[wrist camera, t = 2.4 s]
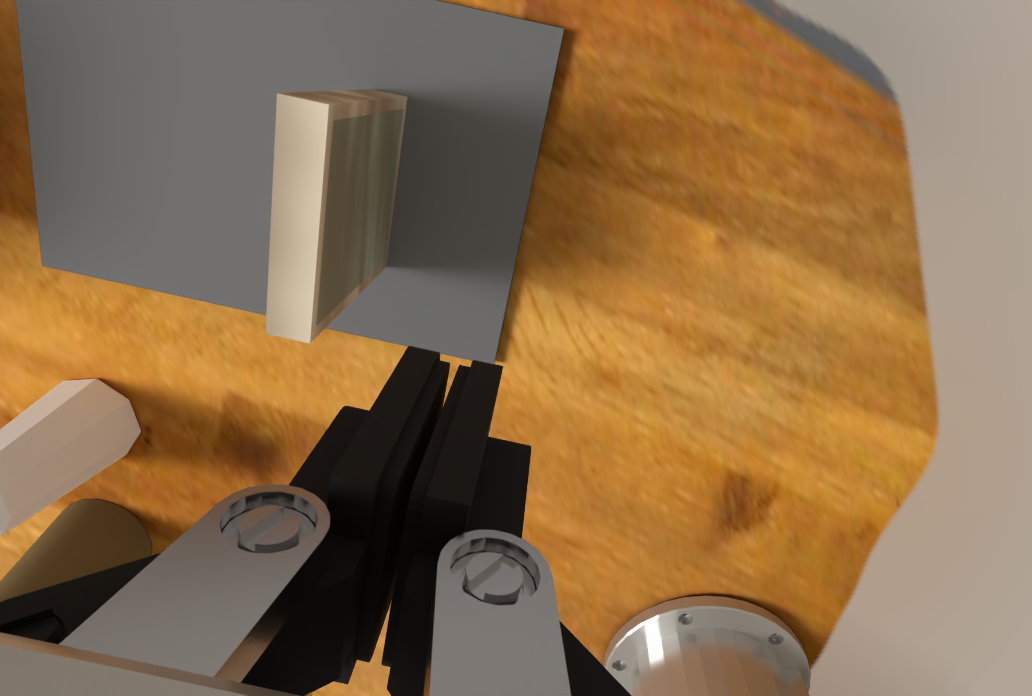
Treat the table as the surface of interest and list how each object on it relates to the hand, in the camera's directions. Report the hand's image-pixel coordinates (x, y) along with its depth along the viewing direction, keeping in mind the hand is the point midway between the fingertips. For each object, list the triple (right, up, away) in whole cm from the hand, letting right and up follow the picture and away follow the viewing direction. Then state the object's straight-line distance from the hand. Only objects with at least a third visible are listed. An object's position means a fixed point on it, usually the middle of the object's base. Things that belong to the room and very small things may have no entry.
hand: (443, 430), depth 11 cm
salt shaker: (-23, -3, +26) cm, 35 cm away
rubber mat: (-10, +10, +19) cm, 24 cm away
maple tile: (-5, +9, +19) cm, 22 cm away
